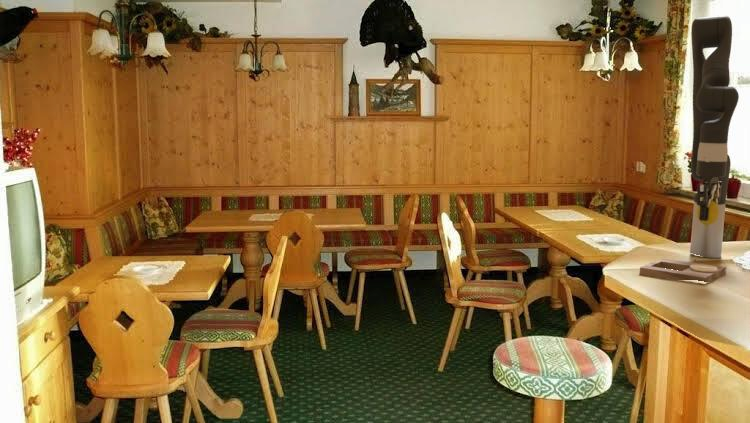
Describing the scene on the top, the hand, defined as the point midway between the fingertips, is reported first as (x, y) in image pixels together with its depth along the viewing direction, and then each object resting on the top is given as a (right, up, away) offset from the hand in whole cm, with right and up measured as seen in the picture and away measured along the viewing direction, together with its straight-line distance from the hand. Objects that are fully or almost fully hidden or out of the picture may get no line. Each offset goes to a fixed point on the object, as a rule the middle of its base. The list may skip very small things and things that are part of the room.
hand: (707, 219), depth 209 cm
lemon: (0, -2, 0) cm, 2 cm away
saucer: (0, -14, +2) cm, 14 cm away
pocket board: (-5, -16, +5) cm, 17 cm away
